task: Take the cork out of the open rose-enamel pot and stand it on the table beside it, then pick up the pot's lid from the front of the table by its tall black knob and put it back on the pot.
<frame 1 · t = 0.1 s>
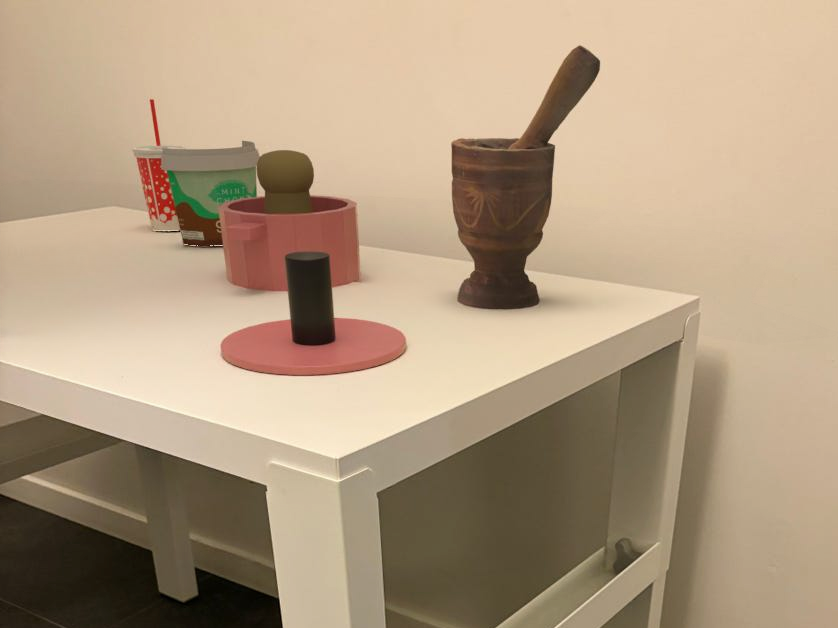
lid: (314, 348, 74), point 1 cm above the table
beverage cup: (171, 230, 121), on the table
pot: (295, 282, 96), on the table
food container: (233, 244, 114), on the table
cork: (295, 279, 96), resting on pot
mortar and pestle: (516, 306, 88), on the table
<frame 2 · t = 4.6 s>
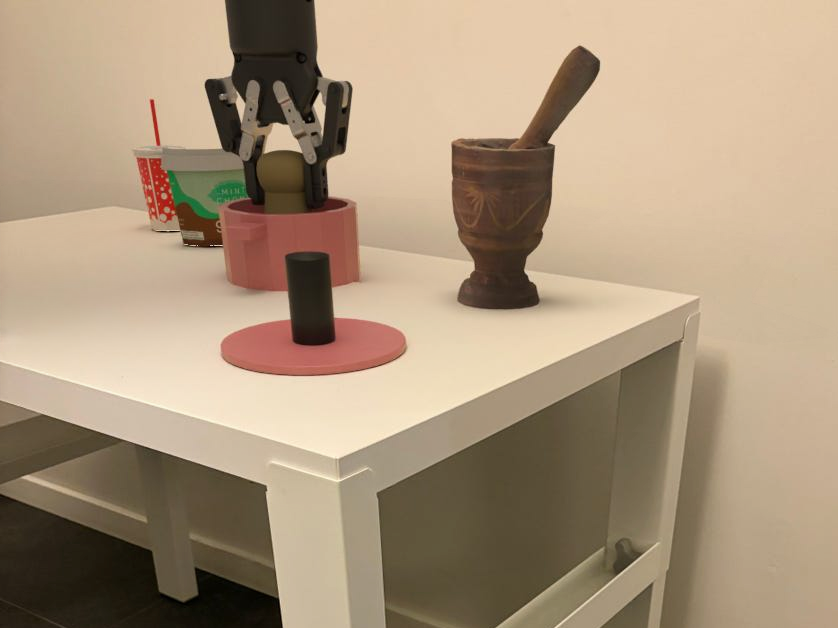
hand: (288, 205, 92), 7 cm above the table, tool pointing down, fingers closed on cork, 5 cm apart
cork: (295, 278, 96), resting on pot, touching gripper
everything else where it was.
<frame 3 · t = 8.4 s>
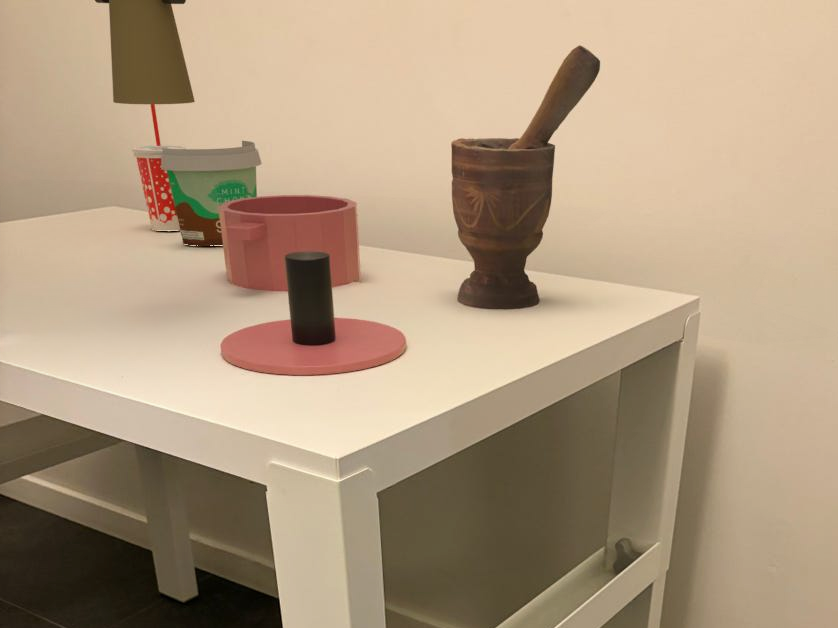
hand: (140, 2, 72), 23 cm above the table, tool pointing down, fingers closed on cork, 5 cm apart
cork: (155, 104, 76), point 16 cm above the table, touching gripper
everything else where it was.
when the fingers open (6 cm above the table, at t = 12.5 s): cork stays where it is, on the table.
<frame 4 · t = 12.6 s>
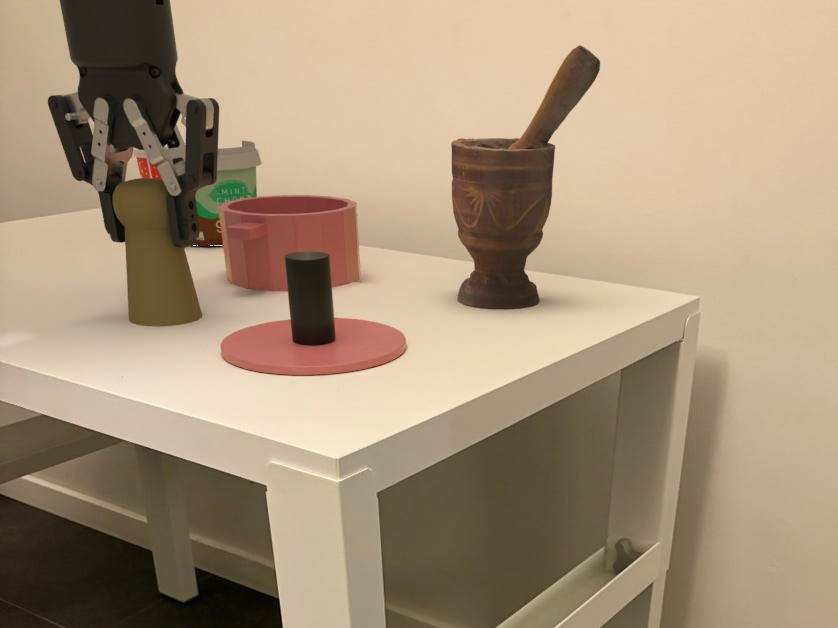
hand: (154, 242, 79), 6 cm above the table, tool pointing down, fingers open, 5 cm apart
cork: (167, 326, 82), on the table
everything else where it was.
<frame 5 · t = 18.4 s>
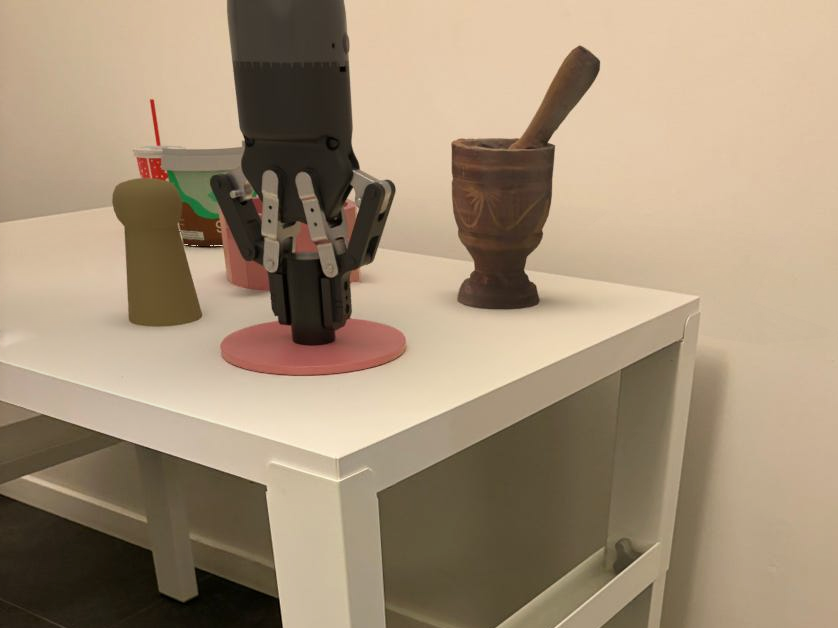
hand: (313, 324, 73), 2 cm above the table, tool pointing down, fingers closed on lid, 3 cm apart
lid: (314, 348, 74), point 1 cm above the table, touching gripper
everything else where it was.
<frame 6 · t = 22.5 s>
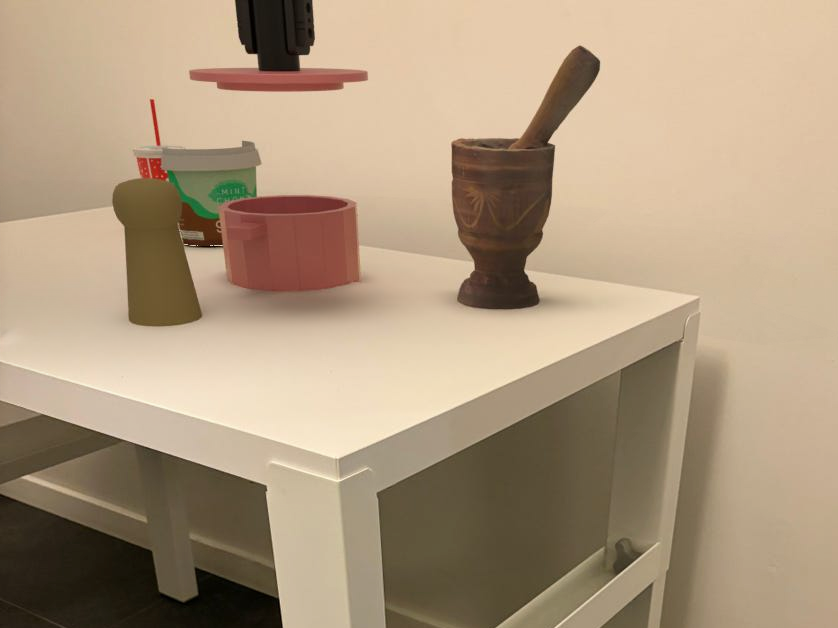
hand: (278, 53, 76), 19 cm above the table, tool pointing down, fingers closed on lid, 3 cm apart
lid: (280, 79, 77), point 18 cm above the table, touching gripper
everything else where it was.
when the fingers open (9 cm above the table, at t = 26.4 s): lid stays where it is, resting on pot.
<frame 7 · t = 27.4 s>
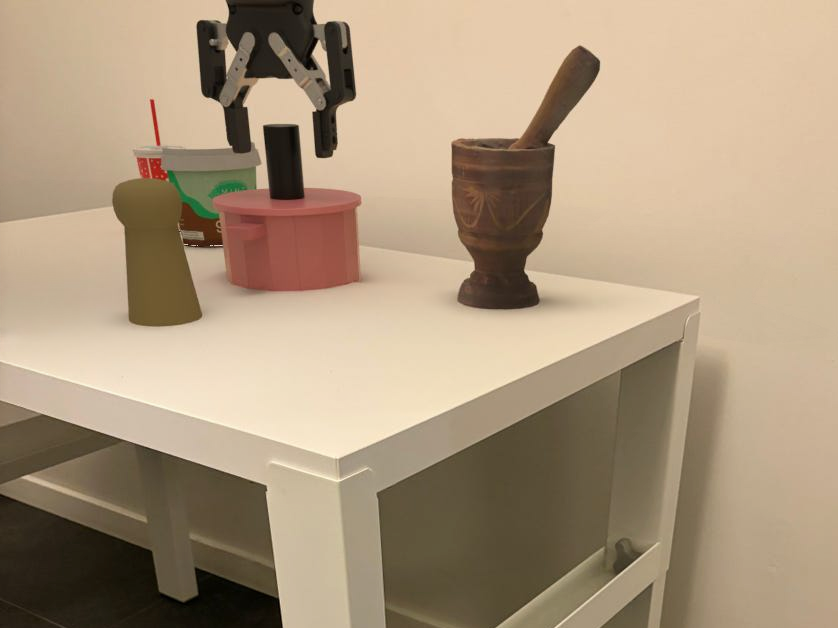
hand: (283, 155, 90), 11 cm above the table, tool pointing down, fingers open, 8 cm apart
lid: (288, 204, 92), point 7 cm above the table, touching pot
everything else where it was.
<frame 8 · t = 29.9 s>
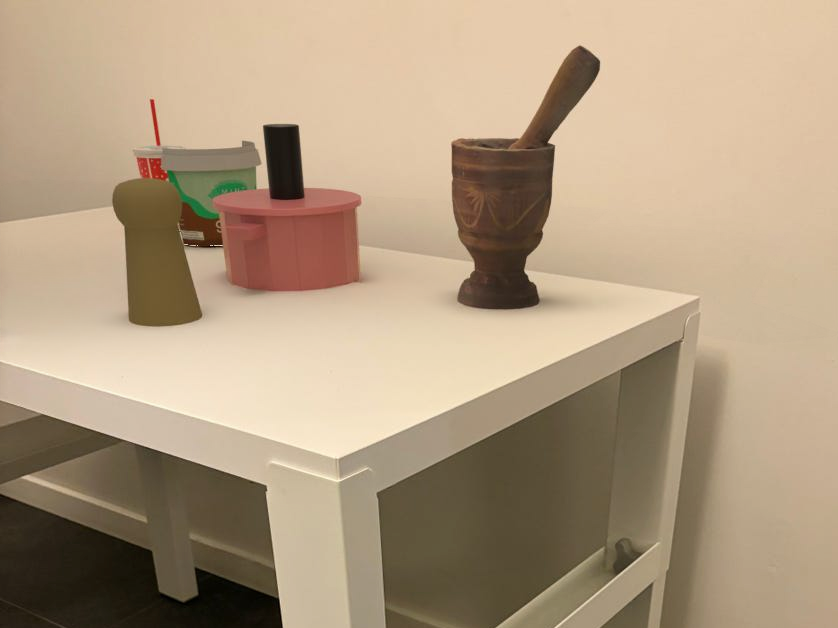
nothing on the table moved.
at the end: cork inside the target area (0.0 cm from its centre), on the table; lid 0.0 cm off-centre on the pot, point 7.0 cm above the pot's base; lid tilted 0° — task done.
